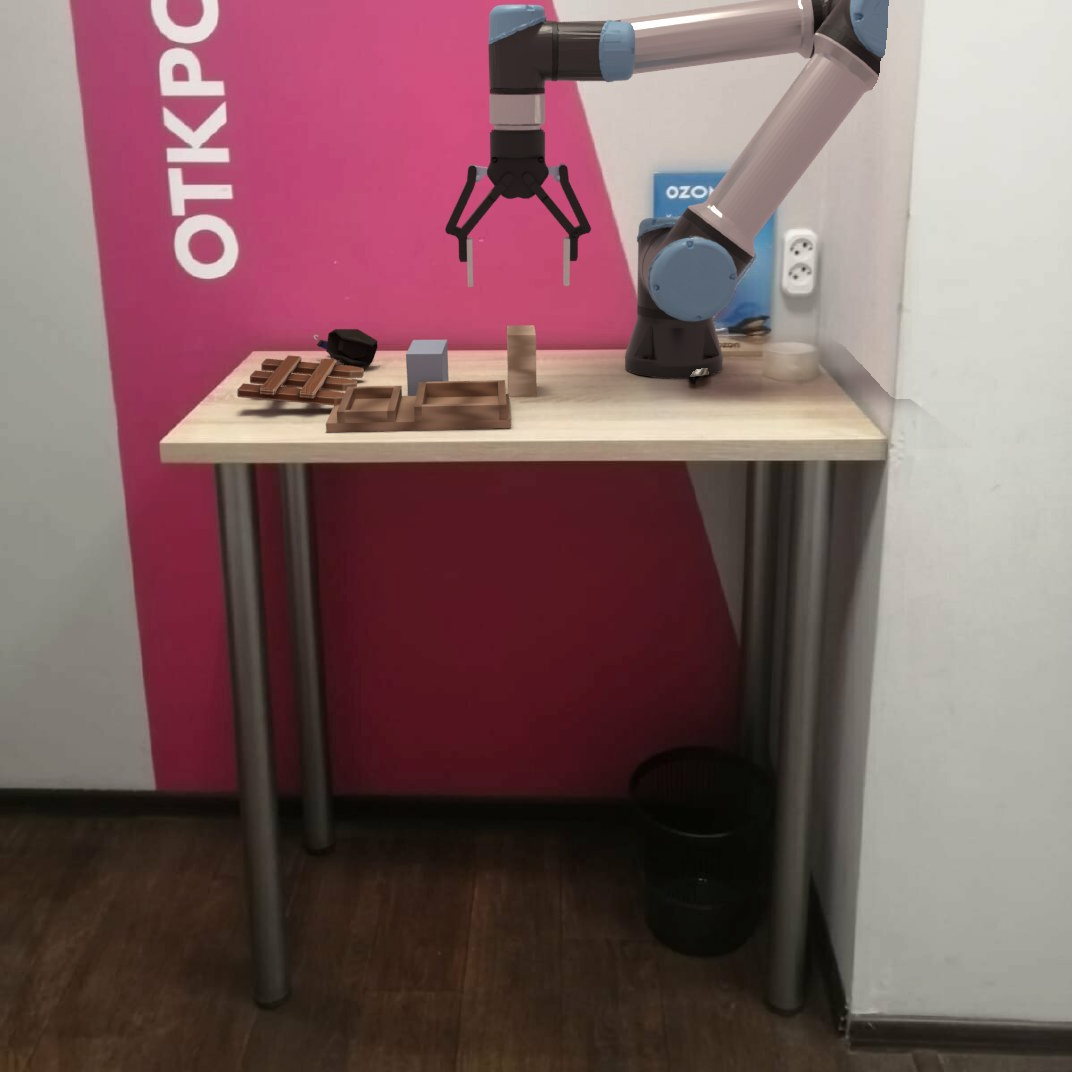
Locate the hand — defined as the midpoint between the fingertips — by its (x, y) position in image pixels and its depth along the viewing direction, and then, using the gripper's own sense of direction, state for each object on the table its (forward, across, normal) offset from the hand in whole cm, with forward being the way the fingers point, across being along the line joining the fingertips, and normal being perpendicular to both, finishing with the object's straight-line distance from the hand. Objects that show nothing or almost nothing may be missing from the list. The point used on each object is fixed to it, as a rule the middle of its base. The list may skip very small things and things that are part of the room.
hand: (518, 285), depth 180 cm
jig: (+16, +14, +14) cm, 25 cm away
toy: (+16, +27, -21) cm, 38 cm away
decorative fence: (+14, +31, 0) cm, 34 cm away
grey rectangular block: (+16, +13, 0) cm, 20 cm away
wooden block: (+15, 0, 0) cm, 15 cm away
